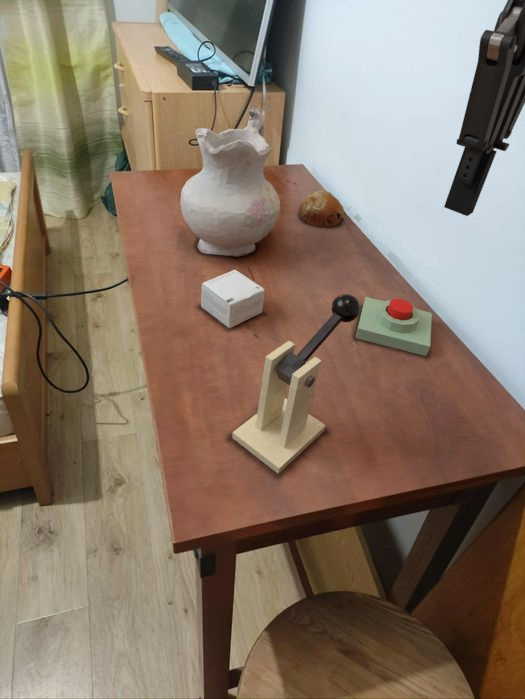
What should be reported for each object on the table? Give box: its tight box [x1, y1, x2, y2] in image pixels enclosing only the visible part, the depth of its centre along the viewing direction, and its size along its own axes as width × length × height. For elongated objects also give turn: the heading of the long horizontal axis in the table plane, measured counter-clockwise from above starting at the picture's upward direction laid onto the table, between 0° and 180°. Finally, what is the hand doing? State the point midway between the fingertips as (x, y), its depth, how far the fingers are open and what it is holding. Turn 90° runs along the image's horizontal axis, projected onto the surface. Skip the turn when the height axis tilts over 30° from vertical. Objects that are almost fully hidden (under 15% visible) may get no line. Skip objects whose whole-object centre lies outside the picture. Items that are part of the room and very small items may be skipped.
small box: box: [200, 269, 266, 329], centre depth 87 cm, size 8×8×5 cm
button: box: [387, 298, 414, 320], centre depth 86 cm, size 4×4×2 cm
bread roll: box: [298, 190, 346, 228], centre depth 118 cm, size 10×10×8 cm
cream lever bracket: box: [232, 340, 326, 474], centre depth 64 cm, size 10×8×14 cm
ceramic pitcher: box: [179, 106, 281, 257], centre depth 99 cm, size 22×20×25 cm
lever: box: [276, 293, 361, 386], centre depth 63 cm, size 14×4×4 cm, turn 139°
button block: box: [355, 296, 433, 357], centre depth 88 cm, size 12×10×4 cm
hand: (458, 209), depth 55 cm, fingers closed
